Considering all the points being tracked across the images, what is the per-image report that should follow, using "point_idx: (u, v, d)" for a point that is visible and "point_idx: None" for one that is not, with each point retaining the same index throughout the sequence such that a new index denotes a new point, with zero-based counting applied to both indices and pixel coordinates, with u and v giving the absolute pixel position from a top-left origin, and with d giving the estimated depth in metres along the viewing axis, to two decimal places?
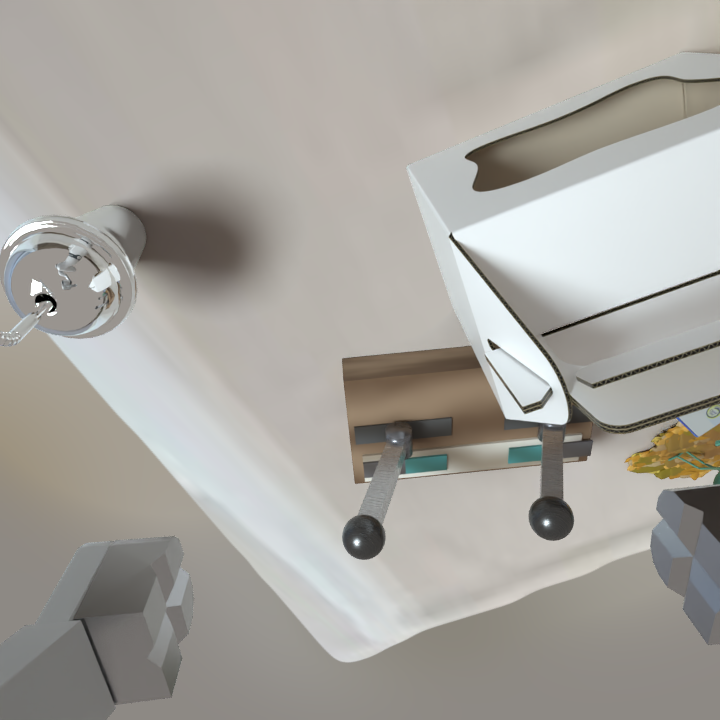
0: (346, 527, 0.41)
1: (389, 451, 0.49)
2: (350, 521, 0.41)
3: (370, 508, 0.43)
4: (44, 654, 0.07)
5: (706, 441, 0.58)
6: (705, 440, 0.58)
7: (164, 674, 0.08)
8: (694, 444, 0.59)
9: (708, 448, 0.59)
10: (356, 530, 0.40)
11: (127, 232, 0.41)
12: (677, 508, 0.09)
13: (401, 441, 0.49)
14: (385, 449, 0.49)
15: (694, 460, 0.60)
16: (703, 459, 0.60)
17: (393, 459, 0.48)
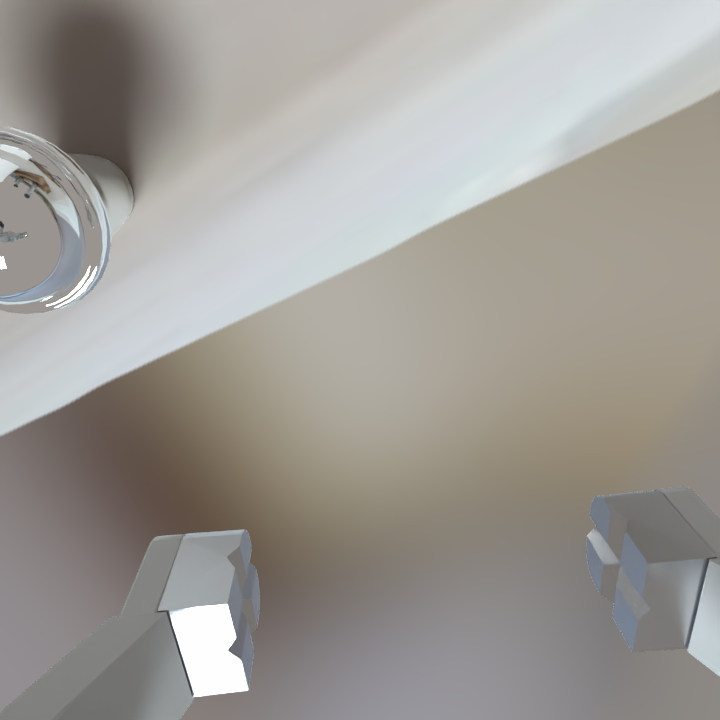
0: None
1: None
2: None
3: None
4: (134, 646, 0.07)
5: None
6: None
7: (242, 666, 0.08)
8: None
9: None
10: None
11: None
12: (605, 515, 0.09)
13: None
14: None
15: None
16: None
17: None
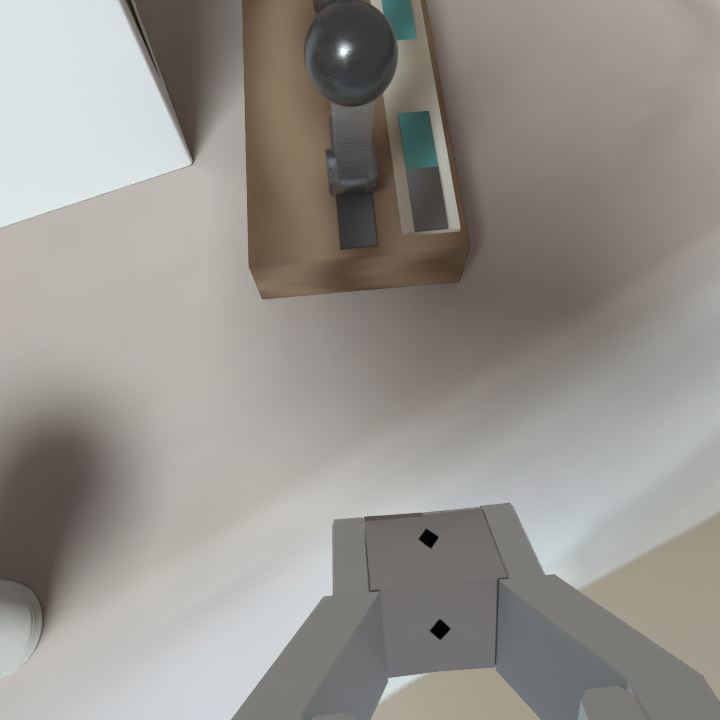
0: (323, 87, 0.19)
1: None
2: (317, 89, 0.19)
3: None
4: (361, 623, 0.07)
5: None
6: None
7: (437, 647, 0.08)
8: None
9: None
10: (309, 53, 0.18)
11: None
12: (425, 533, 0.09)
13: (333, 155, 0.29)
14: (336, 168, 0.28)
15: None
16: None
17: None
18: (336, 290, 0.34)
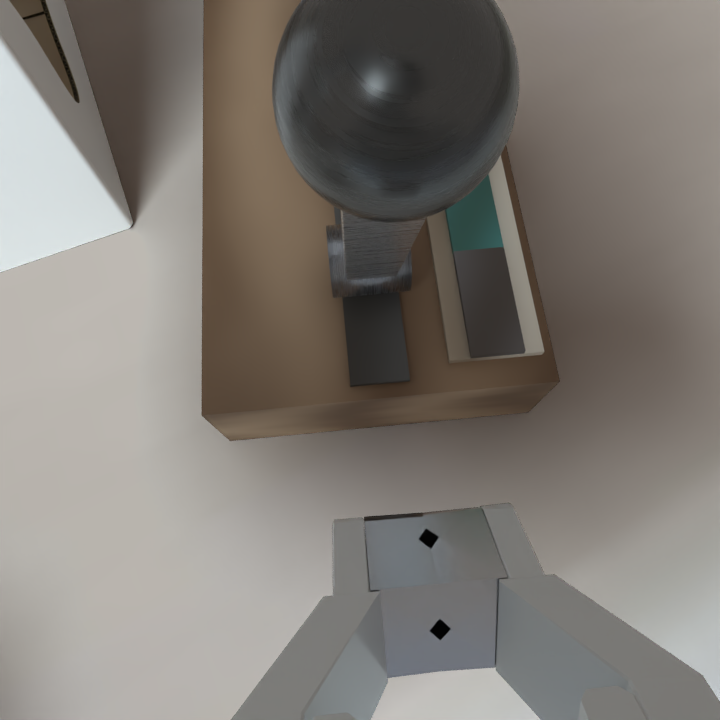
0: (324, 186, 0.07)
1: None
2: (309, 183, 0.08)
3: None
4: (361, 623, 0.07)
5: None
6: None
7: (437, 647, 0.08)
8: None
9: None
10: (284, 99, 0.07)
11: None
12: (425, 532, 0.09)
13: (338, 239, 0.18)
14: (345, 267, 0.17)
15: None
16: None
17: None
18: (342, 428, 0.22)
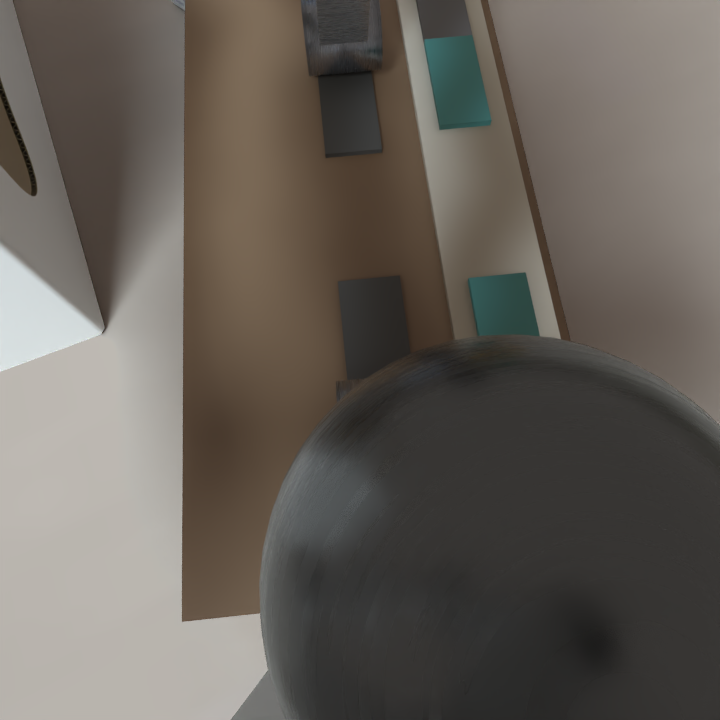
0: None
1: None
2: None
3: None
4: None
5: None
6: None
7: None
8: None
9: None
10: (286, 701, 0.03)
11: None
12: None
13: None
14: None
15: None
16: None
17: None
18: None
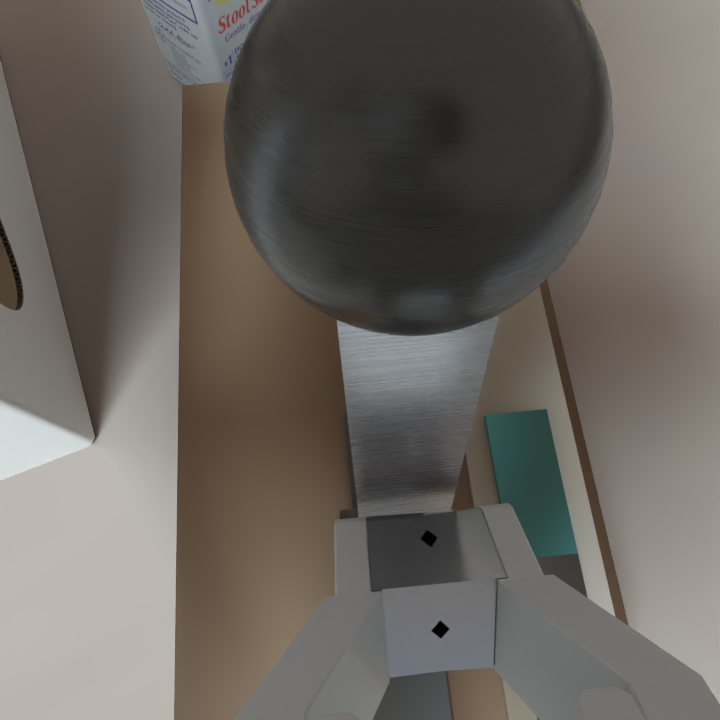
0: (293, 225, 0.04)
1: None
2: (274, 255, 0.04)
3: None
4: (363, 623, 0.07)
5: None
6: None
7: (439, 647, 0.08)
8: None
9: None
10: (232, 100, 0.04)
11: None
12: (424, 533, 0.09)
13: None
14: None
15: None
16: None
17: None
18: None
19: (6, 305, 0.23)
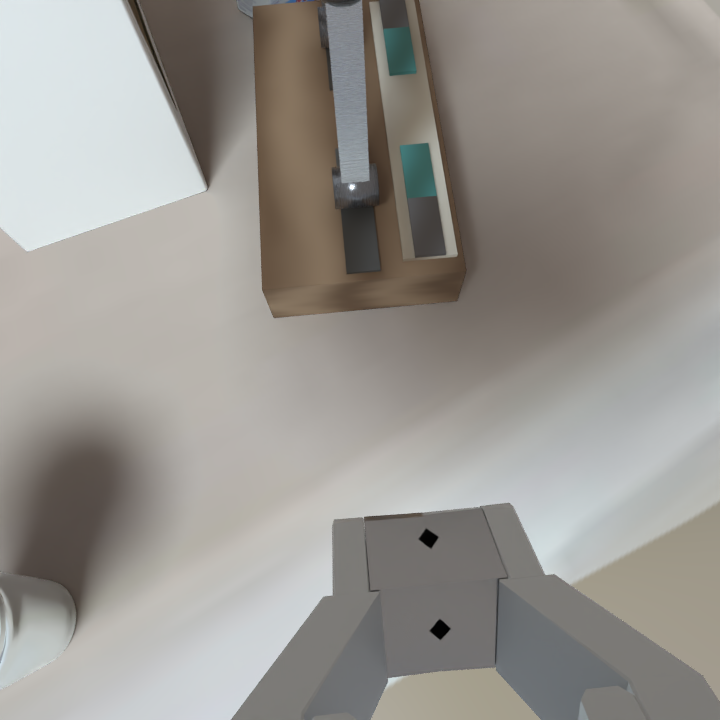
0: None
1: None
2: None
3: None
4: (361, 623, 0.07)
5: None
6: None
7: (437, 647, 0.08)
8: None
9: None
10: None
11: None
12: (425, 533, 0.09)
13: (337, 167, 0.33)
14: (339, 159, 0.31)
15: None
16: None
17: None
18: (342, 309, 0.36)
19: None
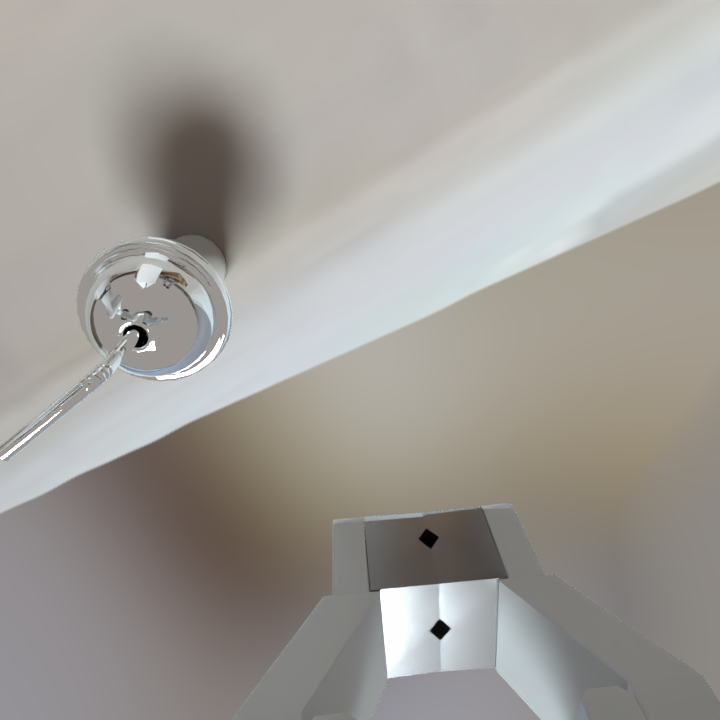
0: None
1: None
2: None
3: None
4: (361, 622, 0.07)
5: None
6: None
7: (437, 647, 0.08)
8: None
9: None
10: None
11: None
12: (425, 533, 0.09)
13: None
14: None
15: None
16: None
17: None
18: None
19: None
